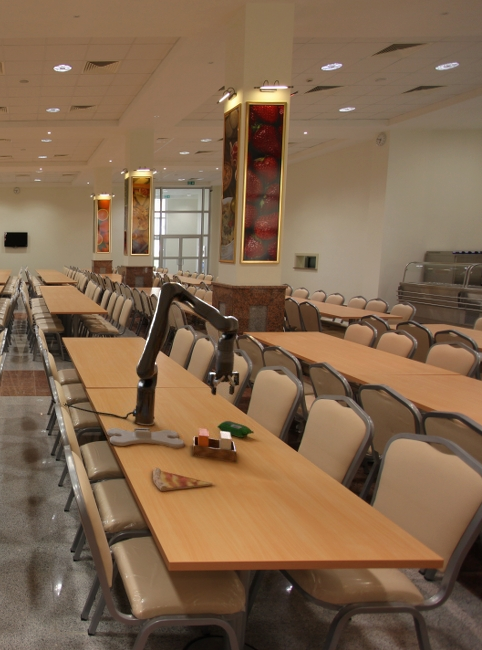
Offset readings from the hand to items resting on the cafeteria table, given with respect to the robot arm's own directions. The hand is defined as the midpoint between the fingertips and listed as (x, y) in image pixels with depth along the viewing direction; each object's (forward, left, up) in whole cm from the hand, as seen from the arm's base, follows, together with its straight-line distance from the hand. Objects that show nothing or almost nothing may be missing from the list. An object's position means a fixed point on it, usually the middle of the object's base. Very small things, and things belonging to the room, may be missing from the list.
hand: (222, 394), depth 233 cm
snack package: (+8, +17, -24) cm, 31 cm away
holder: (-33, -7, -24) cm, 42 cm away
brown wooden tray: (-3, -13, -24) cm, 27 cm away
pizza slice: (-17, -51, -24) cm, 59 cm away
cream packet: (+2, -13, -24) cm, 27 cm away
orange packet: (-7, -13, -24) cm, 28 cm away
